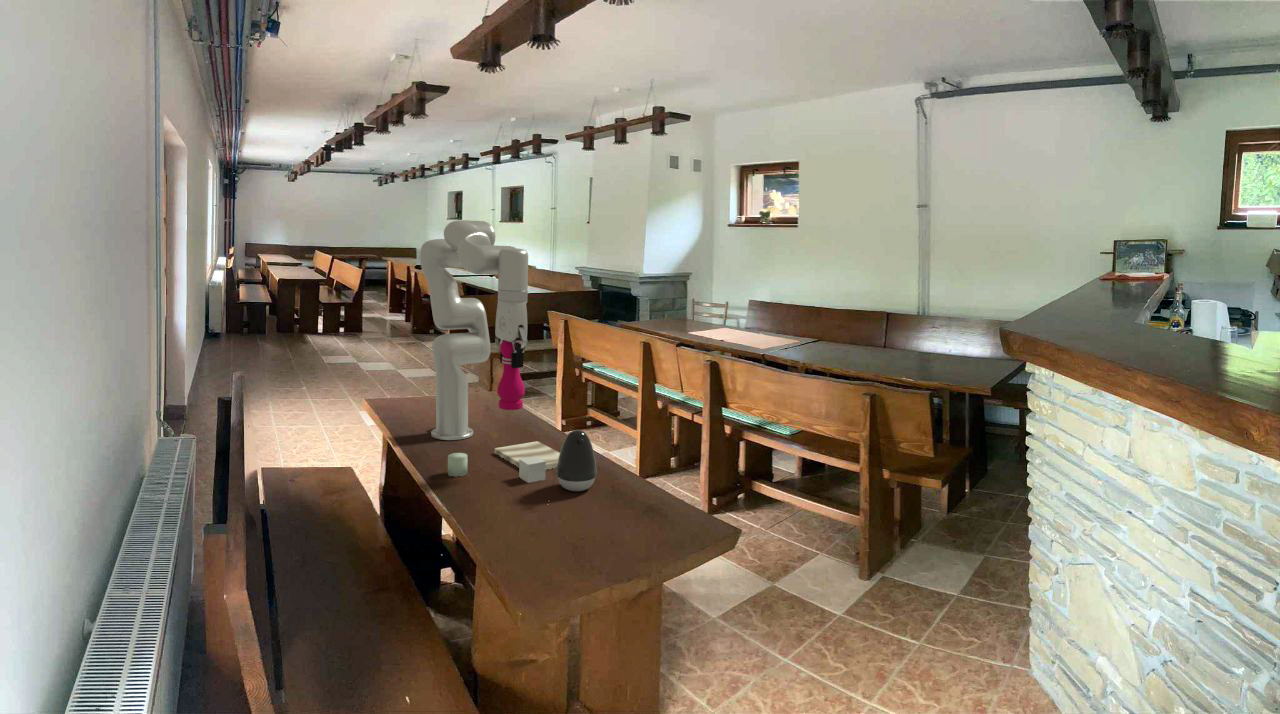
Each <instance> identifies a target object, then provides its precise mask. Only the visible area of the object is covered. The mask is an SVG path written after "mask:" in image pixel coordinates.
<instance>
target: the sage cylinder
mask: <svg viewBox="0 0 1280 714" xmlns="http://www.w3.org/2000/svg"><path fill="white" fill-rule="evenodd" d="M466 474H467V475H468V454H467V453H464V452H453V453H450V454H448V455H447V475H448V476H449V477H451V476H454V477H453V478H459V477H458V476H463V477H465V476H464V475H466ZM467 475H466V476H467Z"/></svg>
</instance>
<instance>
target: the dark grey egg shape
mask: <svg viewBox="0 0 1280 714" xmlns="http://www.w3.org/2000/svg"><path fill="white" fill-rule="evenodd" d="M559 453H560V454H559V458H558V463H557V468H555V469H556V472H555V474H556V477H557V480H558V482H559V484H560V485H561V487H562V488H563V489H565V490H567V491H571V492H583V491H586V490H588V489H589V488H591V486H592V485H593V484H594V482H595V479H596V477H597V475H598V473H597V472H598V469H597V462H596V457H595V451H594V447H593V445H592V441H591V439H590V438H589V436H588V434H587V433H586V432H585V431H583V430H581V429H574V430H571V431H570V432H569V433H568V434H567V435H566V437H565V438H564V441H563V443H562V446H561V447H560V452H559Z"/></svg>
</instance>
